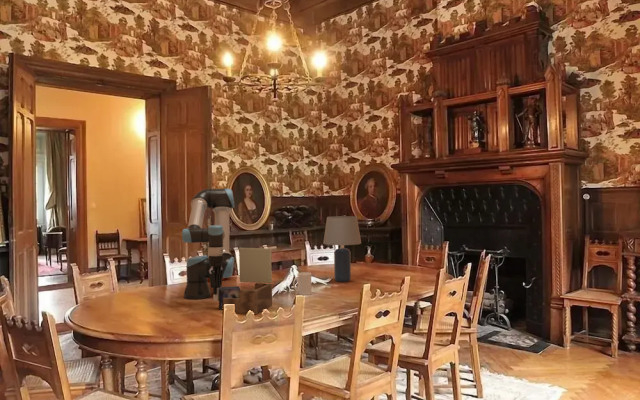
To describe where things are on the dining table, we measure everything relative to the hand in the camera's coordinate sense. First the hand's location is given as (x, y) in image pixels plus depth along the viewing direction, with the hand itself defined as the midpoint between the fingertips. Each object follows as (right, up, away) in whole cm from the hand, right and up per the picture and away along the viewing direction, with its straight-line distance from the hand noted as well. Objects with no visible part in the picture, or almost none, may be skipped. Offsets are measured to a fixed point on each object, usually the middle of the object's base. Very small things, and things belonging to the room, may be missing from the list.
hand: (216, 300), depth 267 cm
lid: (+20, +18, +3) cm, 27 cm away
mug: (+43, -3, +32) cm, 54 cm away
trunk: (+17, -3, -5) cm, 18 cm away
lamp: (+69, -2, +75) cm, 102 cm away
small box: (+7, -4, -2) cm, 8 cm away
